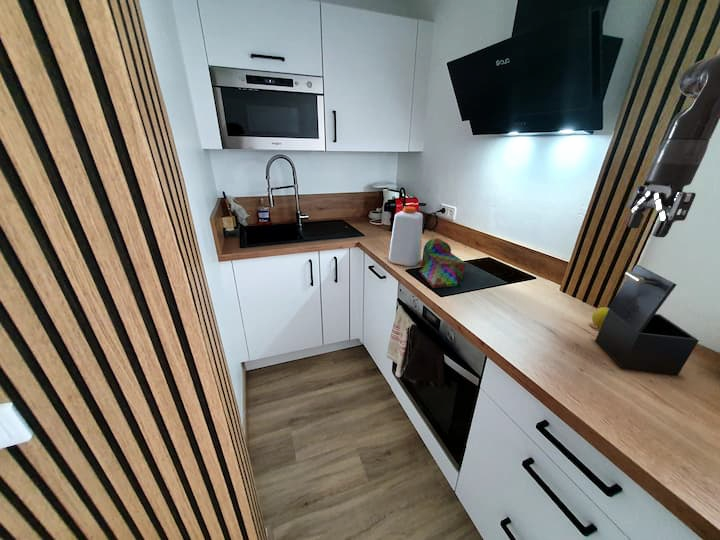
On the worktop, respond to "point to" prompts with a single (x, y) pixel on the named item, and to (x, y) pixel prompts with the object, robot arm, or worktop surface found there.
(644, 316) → the bin lid
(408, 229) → the plastic bottle
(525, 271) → the worktop surface
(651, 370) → the bin
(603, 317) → the lemon
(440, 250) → the rainbow lumpy figurine
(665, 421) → the worktop surface
